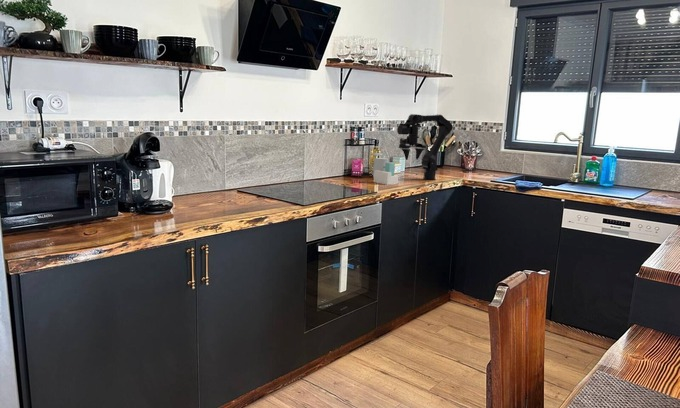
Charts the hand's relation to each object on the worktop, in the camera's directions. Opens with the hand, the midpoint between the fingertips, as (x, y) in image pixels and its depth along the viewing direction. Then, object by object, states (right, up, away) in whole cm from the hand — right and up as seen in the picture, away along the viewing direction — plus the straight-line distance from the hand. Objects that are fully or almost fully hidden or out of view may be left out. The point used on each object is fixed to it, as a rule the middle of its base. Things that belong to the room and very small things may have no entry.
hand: (411, 159), depth 320 cm
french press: (-20, -9, +23) cm, 32 cm away
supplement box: (-19, -11, +9) cm, 24 cm away
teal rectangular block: (-16, -15, -13) cm, 25 cm away
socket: (-17, -15, -14) cm, 27 cm away
